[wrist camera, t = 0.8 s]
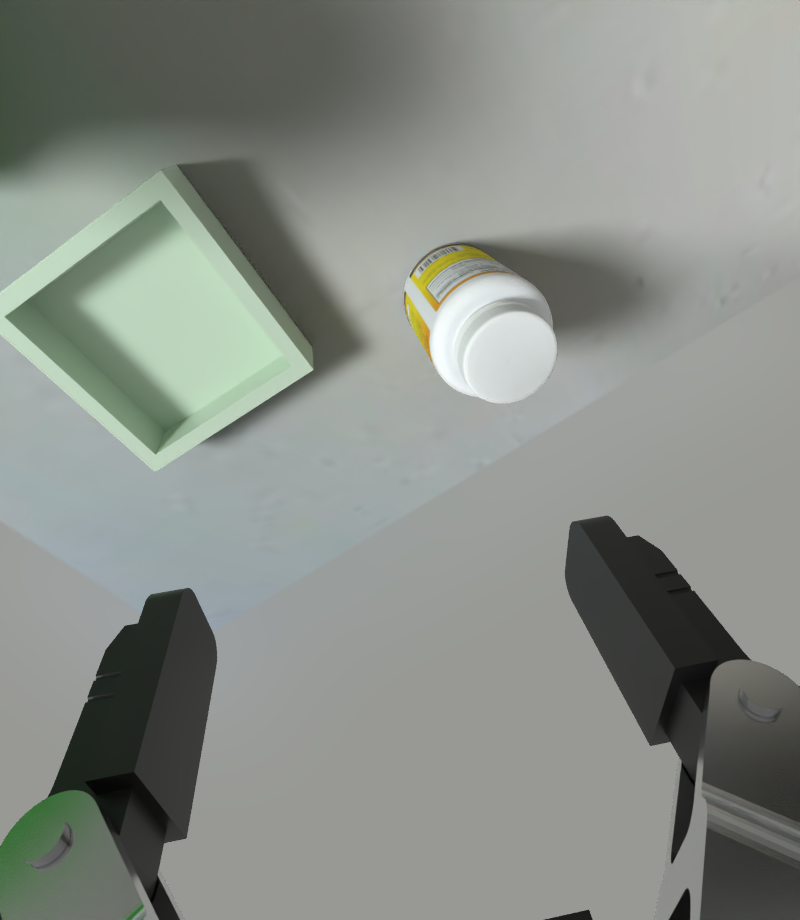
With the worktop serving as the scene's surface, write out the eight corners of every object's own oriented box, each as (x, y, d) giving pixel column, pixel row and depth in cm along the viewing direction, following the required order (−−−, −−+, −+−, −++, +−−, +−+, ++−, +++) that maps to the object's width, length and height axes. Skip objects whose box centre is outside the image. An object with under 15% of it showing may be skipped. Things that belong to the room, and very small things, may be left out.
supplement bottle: (470, 353, 32) (532, 437, 23) (386, 321, 30) (420, 400, 21) (515, 263, 29) (604, 320, 21) (427, 222, 27) (484, 266, 19)
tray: (176, 164, 24) (160, 169, 21) (312, 347, 30) (313, 369, 27) (9, 292, 26) (-26, 311, 23) (167, 441, 31) (155, 471, 29)
